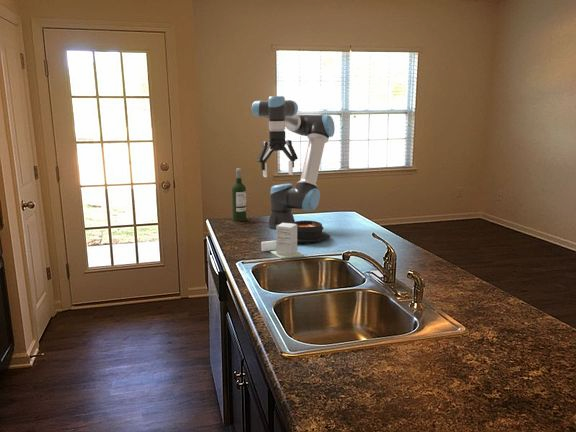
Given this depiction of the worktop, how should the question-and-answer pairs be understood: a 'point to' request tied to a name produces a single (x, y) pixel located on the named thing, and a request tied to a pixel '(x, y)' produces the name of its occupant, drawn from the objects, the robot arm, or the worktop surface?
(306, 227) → the casserole
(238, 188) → the wine bottle
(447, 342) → the worktop surface
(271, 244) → the acrylic wall
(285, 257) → the sage mat
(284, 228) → the supplement box
